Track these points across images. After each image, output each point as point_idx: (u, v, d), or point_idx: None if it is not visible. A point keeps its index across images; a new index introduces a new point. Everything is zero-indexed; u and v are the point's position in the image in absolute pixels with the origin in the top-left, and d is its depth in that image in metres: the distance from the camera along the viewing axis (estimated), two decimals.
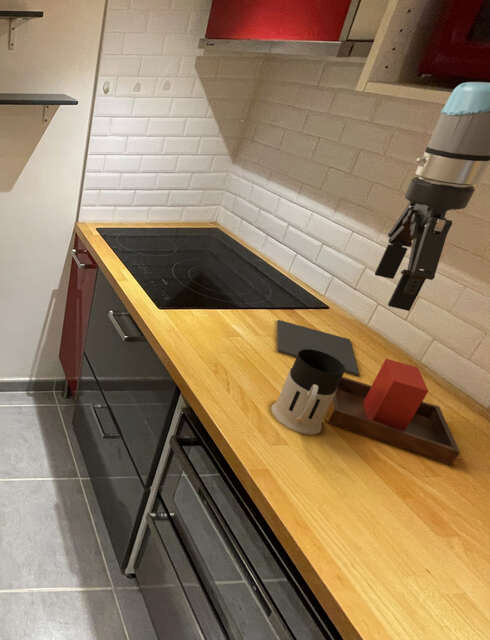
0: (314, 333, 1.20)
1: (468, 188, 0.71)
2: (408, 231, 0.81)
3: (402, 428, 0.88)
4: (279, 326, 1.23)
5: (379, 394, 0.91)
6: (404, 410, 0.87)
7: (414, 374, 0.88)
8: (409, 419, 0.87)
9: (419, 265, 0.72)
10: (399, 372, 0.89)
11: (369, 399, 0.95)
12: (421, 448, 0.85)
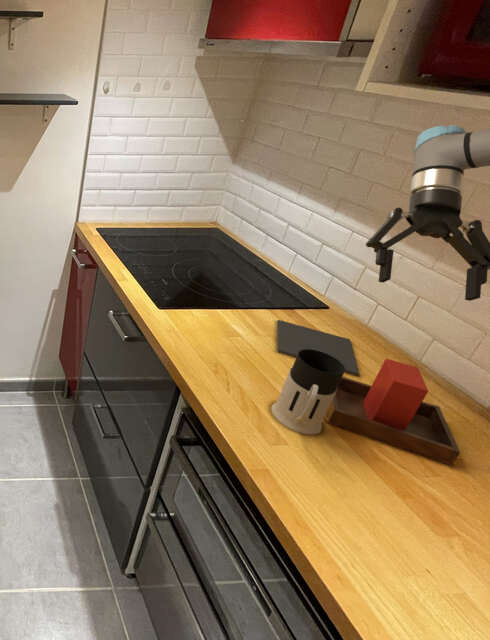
0: (314, 333, 1.20)
1: (429, 189, 0.93)
2: (456, 246, 0.90)
3: (402, 428, 0.88)
4: (279, 326, 1.23)
5: (379, 394, 0.91)
6: (404, 410, 0.87)
7: (414, 374, 0.88)
8: (409, 419, 0.87)
9: (370, 238, 0.96)
10: (399, 372, 0.89)
11: (369, 399, 0.95)
12: (421, 448, 0.85)
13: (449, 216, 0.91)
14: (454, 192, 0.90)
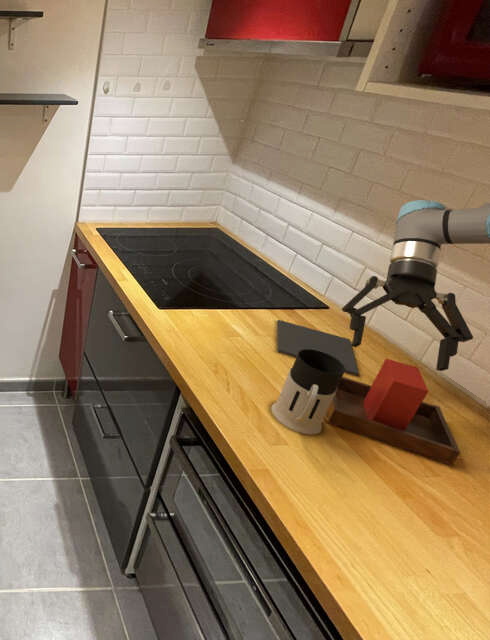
0: (314, 333, 1.20)
1: (404, 260, 0.97)
2: (430, 317, 0.94)
3: (402, 428, 0.88)
4: (279, 326, 1.23)
5: (379, 394, 0.91)
6: (404, 410, 0.87)
7: (414, 374, 0.88)
8: (409, 419, 0.87)
9: None
10: (399, 372, 0.89)
11: (369, 399, 0.95)
12: (421, 448, 0.85)
13: (423, 287, 0.95)
14: (427, 265, 0.95)
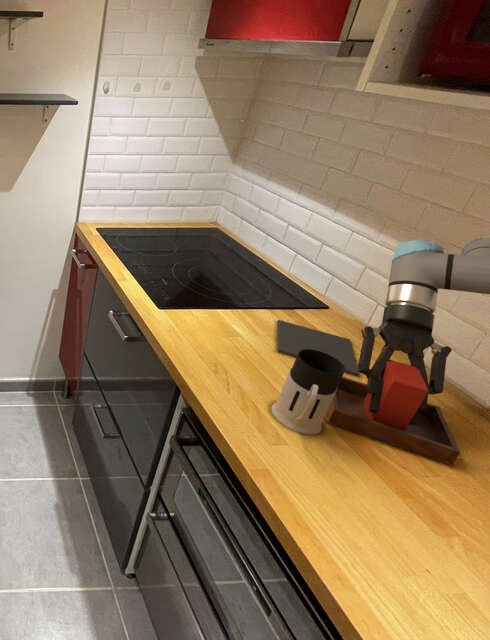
0: (314, 333, 1.20)
1: (400, 304, 0.93)
2: (413, 364, 0.91)
3: (402, 428, 0.88)
4: (279, 326, 1.23)
5: None
6: (404, 410, 0.87)
7: (414, 374, 0.88)
8: (409, 419, 0.87)
9: (359, 363, 0.95)
10: (399, 372, 0.89)
11: (369, 399, 0.95)
12: (421, 448, 0.85)
13: (420, 333, 0.91)
14: (424, 310, 0.91)
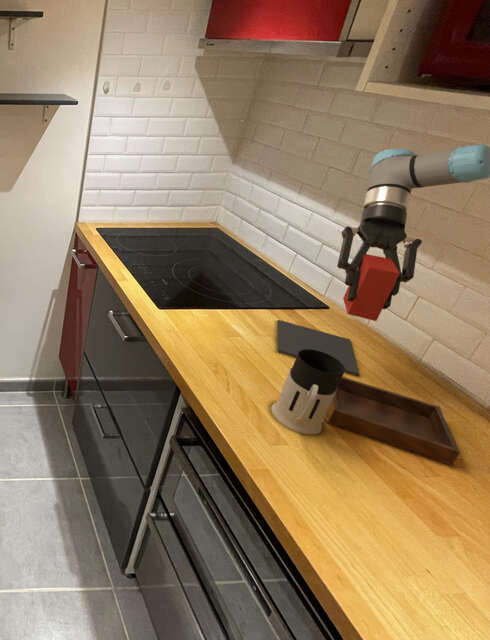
0: (314, 333, 1.20)
1: (376, 205, 1.02)
2: (387, 257, 1.00)
3: (377, 312, 0.97)
4: (279, 326, 1.23)
5: None
6: (378, 295, 0.96)
7: (388, 263, 0.97)
8: (383, 302, 0.96)
9: (338, 260, 1.03)
10: (374, 261, 0.97)
11: (348, 293, 1.03)
12: (421, 448, 0.85)
13: (394, 229, 1.00)
14: (398, 208, 0.99)
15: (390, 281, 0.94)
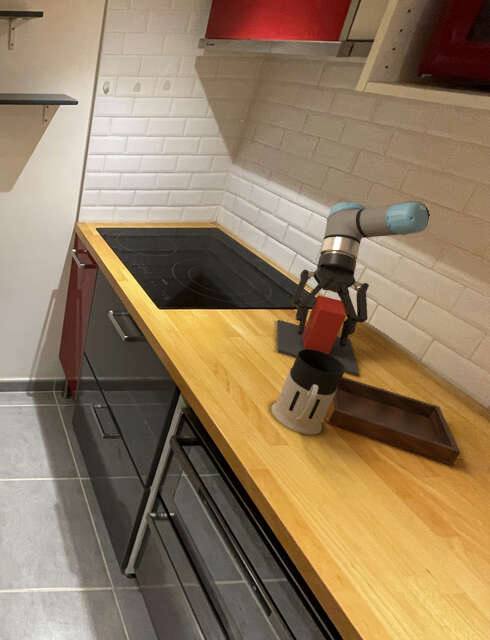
0: None
1: (330, 253, 1.16)
2: (342, 300, 1.13)
3: (328, 348, 1.11)
4: (279, 326, 1.23)
5: (311, 323, 1.13)
6: (329, 333, 1.10)
7: (338, 305, 1.10)
8: (333, 340, 1.10)
9: (292, 297, 1.18)
10: (326, 303, 1.11)
11: (306, 329, 1.17)
12: (421, 448, 0.85)
13: (345, 275, 1.14)
14: (348, 256, 1.13)
15: (338, 322, 1.08)
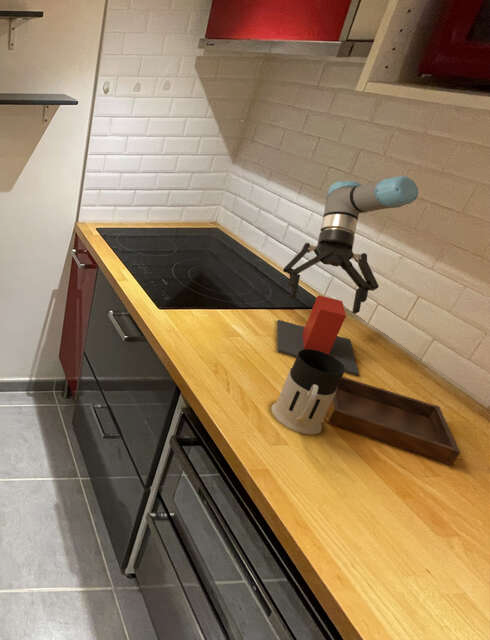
0: None
1: (329, 229, 1.24)
2: (348, 272, 1.20)
3: (328, 348, 1.11)
4: (279, 326, 1.23)
5: (311, 323, 1.13)
6: (329, 333, 1.10)
7: (338, 305, 1.10)
8: (333, 340, 1.10)
9: None
10: (326, 303, 1.11)
11: (306, 329, 1.17)
12: (421, 448, 0.85)
13: (344, 250, 1.22)
14: (346, 232, 1.21)
15: (338, 322, 1.08)
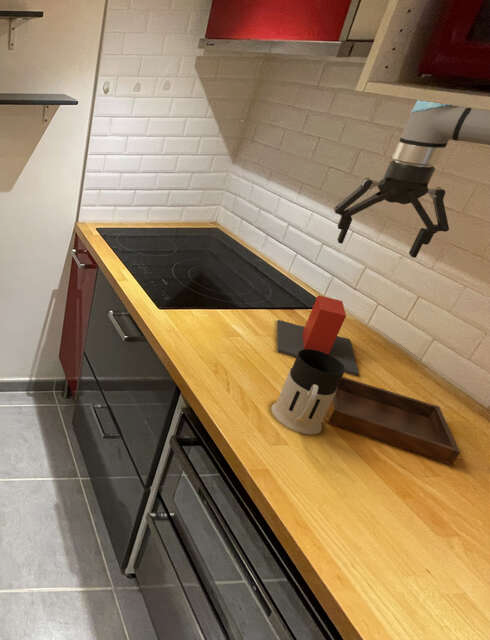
0: None
1: (402, 165, 0.99)
2: (416, 210, 1.02)
3: (328, 348, 1.11)
4: (279, 326, 1.23)
5: (311, 323, 1.13)
6: (329, 333, 1.10)
7: (338, 305, 1.10)
8: (333, 340, 1.10)
9: (339, 204, 1.10)
10: (326, 303, 1.11)
11: (306, 329, 1.17)
12: (421, 448, 0.85)
13: (416, 187, 1.00)
14: (423, 170, 0.97)
15: (338, 322, 1.08)
